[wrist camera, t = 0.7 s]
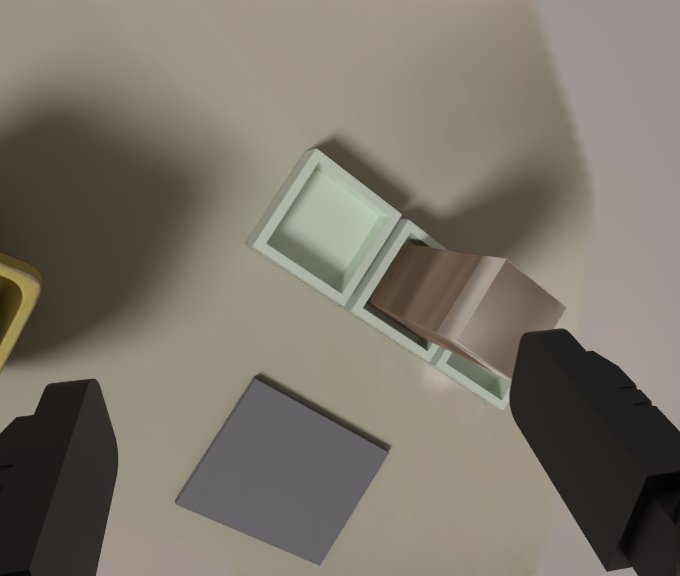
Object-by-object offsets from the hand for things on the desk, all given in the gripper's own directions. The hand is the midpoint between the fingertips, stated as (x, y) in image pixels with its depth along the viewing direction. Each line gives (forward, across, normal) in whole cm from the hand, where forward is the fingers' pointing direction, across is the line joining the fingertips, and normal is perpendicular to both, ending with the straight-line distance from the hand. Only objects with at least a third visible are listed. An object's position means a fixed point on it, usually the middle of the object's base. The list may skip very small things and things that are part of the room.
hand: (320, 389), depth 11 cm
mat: (+14, 0, +19) cm, 24 cm away
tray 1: (+20, -3, +6) cm, 21 cm away
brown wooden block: (+19, -8, +10) cm, 23 cm away
